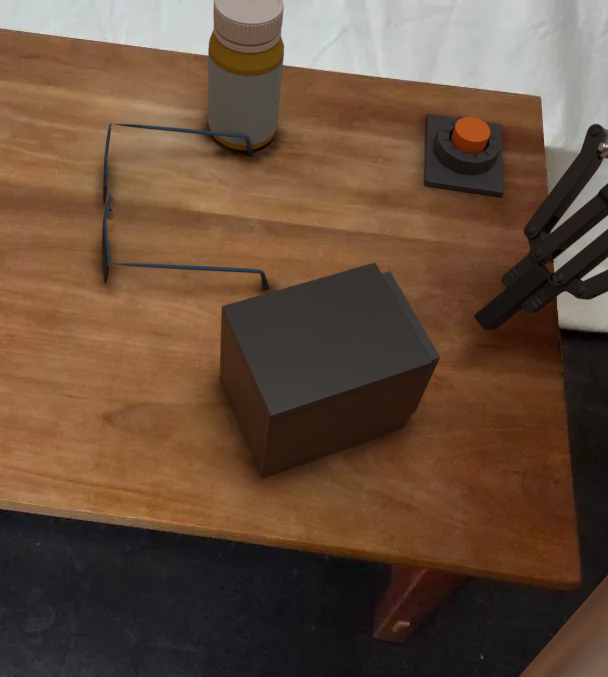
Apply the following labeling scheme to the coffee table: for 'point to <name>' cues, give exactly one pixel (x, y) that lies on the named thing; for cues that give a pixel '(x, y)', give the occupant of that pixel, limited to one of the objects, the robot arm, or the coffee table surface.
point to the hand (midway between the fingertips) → (484, 322)
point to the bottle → (245, 70)
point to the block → (462, 160)
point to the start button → (470, 135)
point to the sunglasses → (109, 213)
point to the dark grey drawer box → (319, 367)
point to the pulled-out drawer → (418, 330)
